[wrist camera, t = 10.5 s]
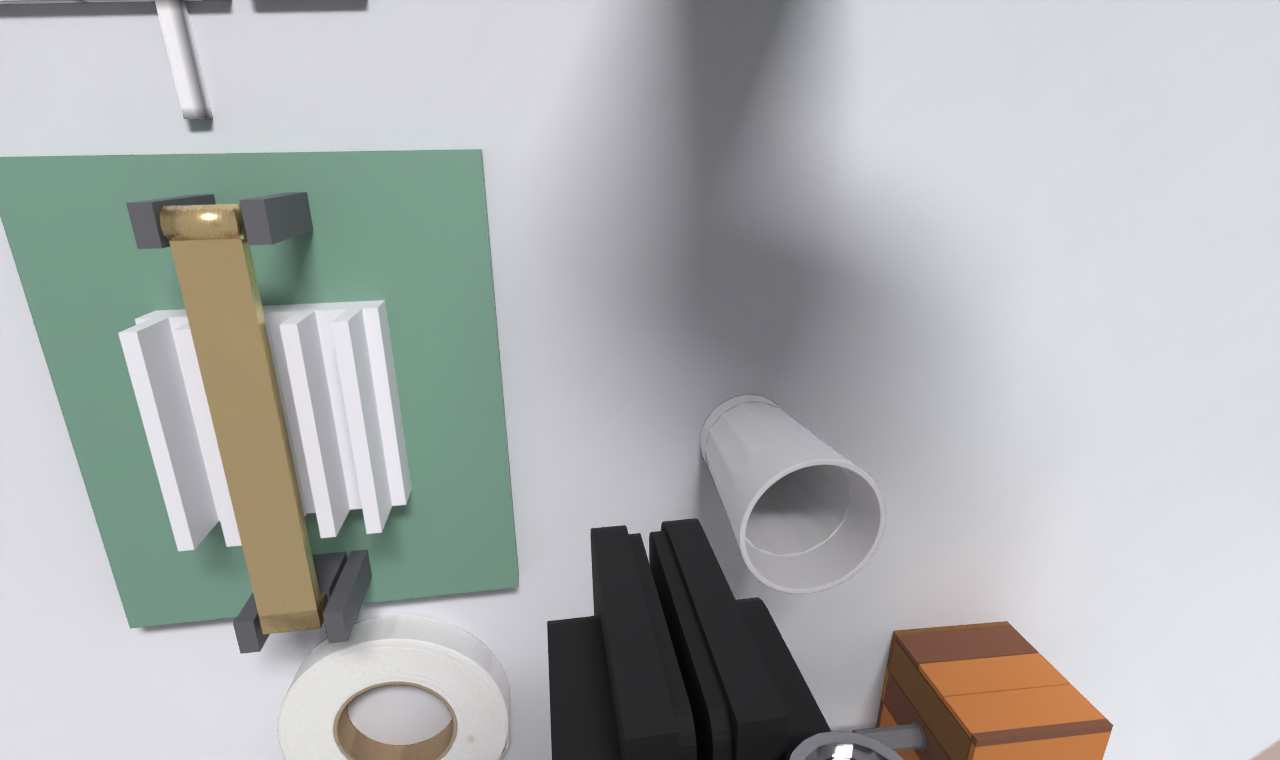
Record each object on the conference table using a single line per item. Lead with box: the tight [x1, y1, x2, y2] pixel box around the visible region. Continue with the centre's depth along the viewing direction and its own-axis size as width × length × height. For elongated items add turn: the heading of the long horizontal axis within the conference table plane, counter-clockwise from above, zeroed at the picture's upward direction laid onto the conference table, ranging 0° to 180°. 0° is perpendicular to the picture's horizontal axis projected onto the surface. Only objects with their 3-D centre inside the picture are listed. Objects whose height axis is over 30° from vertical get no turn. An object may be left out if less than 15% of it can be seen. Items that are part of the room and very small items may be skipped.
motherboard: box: [0, 150, 519, 653], centre depth 37 cm, size 28×24×8 cm
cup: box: [700, 395, 886, 594], centre depth 40 cm, size 8×8×12 cm
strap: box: [160, 204, 328, 634], centre depth 34 cm, size 23×3×2 cm, turn 1°
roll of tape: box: [278, 615, 510, 760], centre depth 48 cm, size 16×15×3 cm
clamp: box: [852, 621, 1113, 760], centre depth 49 cm, size 11×20×14 cm, turn 88°
